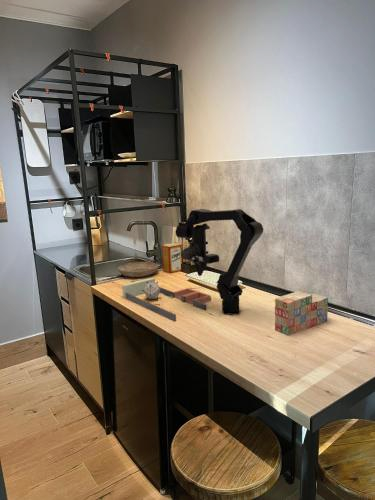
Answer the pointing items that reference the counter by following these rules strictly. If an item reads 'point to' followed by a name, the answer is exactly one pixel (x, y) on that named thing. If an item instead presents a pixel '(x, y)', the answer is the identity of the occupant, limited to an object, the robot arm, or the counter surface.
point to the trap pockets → (192, 295)
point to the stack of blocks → (299, 312)
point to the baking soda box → (172, 257)
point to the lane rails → (160, 310)
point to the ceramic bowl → (138, 269)
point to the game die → (152, 290)
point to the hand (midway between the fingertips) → (200, 275)
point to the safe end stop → (136, 287)
